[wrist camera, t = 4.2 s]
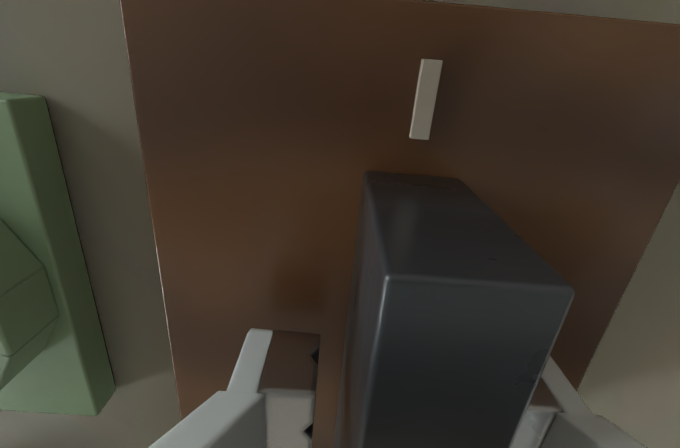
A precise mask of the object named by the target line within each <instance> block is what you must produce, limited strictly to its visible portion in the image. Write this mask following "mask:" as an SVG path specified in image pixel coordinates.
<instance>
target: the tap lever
mask: <svg viewBox="0 0 680 448" xmlns="http://www.w3.org/2000/svg"><path fill="white" fill-rule="evenodd" d="M574 297H575V290H574V288H573V286H572V285H571V284H570V283H568V282H567V281H566V280H565V279H564V278H563V277H562V276H561V275H560V274H559V273H558V272H557V271H556V270H555V269H554V268H553V267H552V266H551V265H550V264H549V263H548V262H546V261H545V260H544V259H543V258H542V257H541V256H540V255H539V254H538V253H537V252H536V251H535V250H534V249H533V248H532V247H531V246H530V245H529V244H528V243H527V242H526V241H524V240H523V239H522V238H521V237H520V236H519V235H518V234H517V233H516V232H515V231H514V230H513V229H512V228H511V227H510V226H509V225H508V224H507V223H506V222H505V221H504V220H503V219H501V218H500V217H499V216H498V215H497V214H496V213H495V212H494V211H493V210H492V209H491V208H490V207H489V206H488V205H487V204H486V203H485V202H484V201H483V200H482V199H481V198H479V197H478V196H477V195H476V194H475V193H474V192H473V191H472V190H471V189H470V188H469V187H468V186H467V185H466V184H465V183H464V182H463V181H462V180H460V179H459V178H450V177H438V176H425V175H413V174H401V173H389V172H376V171H367V172H365V173H364V175H363V182H362V191H361V200H360V209H359V218H358V227H357V236H356V245H355V254H354V263H353V272H352V281H351V290H350V299H349V308H348V317H347V326H346V335H345V344H344V353H343V362H342V371H341V380H340V389H339V398H338V407H337V416H336V425H335V434H334V448H511V446H512V444H513V442H514V439H515V437H516V435H517V432H518V430H519V427H520V425H521V423H522V420H523V418H524V416H525V413H526V411H527V408H528V406H529V404H530V401H531V399H532V397H533V394H534V392H535V389H536V387H537V385H538V382H539V380H540V378H541V375H542V373H543V370H544V368H545V366H546V363H547V361H548V359H549V356H550V354H551V351H552V349H553V347H554V344H555V342H556V340H557V337H558V335H559V333H560V330H561V328H562V325H563V323H564V321H565V318H566V316H567V314H568V311H569V309H570V306H571V304H572V302H573V299H574Z"/></svg>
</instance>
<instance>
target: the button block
mask: <svg viewBox="0 0 680 448" xmlns="http://www.w3.org/2000/svg"><path fill="white" fill-rule="evenodd" d="M115 390H116V388H115V384H114V380H113V376H112V371H111V367H110V363H109V359H108V355H107V351H106V347H105V343H104V338H103V334H102V330H101V326H100V322H99V318H98V314H97V310H96V306H95V301H94V297H93V293H92V289H91V285H90V281H89V277H88V273H87V269H86V264H85V260H84V256H83V252H82V248H81V244H80V240H79V236H78V232H77V227H76V223H75V219H74V215H73V211H72V207H71V203H70V199H69V194H68V190H67V186H66V182H65V178H64V174H63V170H62V166H61V162H60V157H59V153H58V149H57V145H56V141H55V137H54V133H53V129H52V125H51V120H50V116H49V112H48V108H47V104H46V100H45V98H44V97H42V96H37V95H26V94H14V93H2V92H0V410H7V411H22V412H38V413H54V414H70V415H85V416H98V415H99V413H100V412H101V411H102V409H103V408H104V406H105V405H106V403H107V402H108V401H109V399H110V398H111V396H112V395H113V394H114V392H115Z"/></svg>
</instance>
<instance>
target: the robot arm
mask: <svg viewBox="0 0 680 448" xmlns="http://www.w3.org/2000/svg"><path fill="white" fill-rule="evenodd" d="M319 348H320V334H314V333H303V332H292V331H282V330H275V331H274V330H266V329H255V328H251V329H250V330H249V332H248V333H247V335H246V338H245V341H244V344H243V346H242V349H241V352H240V355H239V357H238V360H237V363H236V366H235V368H234V371H233V374H232V377H231V379H230V382H229V385H228V388H227V390H226V391H218V392H216V393H215V394H214V395H213V396H211V397H210V398H209V399H208V400H206V401H205V402H204V403H203V404H201V405H200V406H199V407H198V408H197V409H195V410H194V411H193V412H192V413H190V414H189V415H188V416H187V417H185V418H184V419H183V420H182V421H180V422H179V423H178V424H177V425H176V426H174V427H173V428H172V429H171V430H169V431H168V432H167V433H166V434H164V435H163V436H162V437H161V438H159V439H158V440H157V441H156V442H155V443H153V444H152V445H151V446H150V447H148V448H311V446H312V435H313V424H314V412H315V400H316V389H317V375H318V362H319ZM511 448H647V447H646V446H644V445H643V444H642V443H640V442H639V441H637V440H636V439H634V438H633V437H631V436H630V435H629V434H627V433H626V432H624V431H623V430H621V429H620V428H618V427H617V426H616V425H614V424H613V423H611V422H610V421H608V420H607V419H606V418H604V417H603V416H599V415H593V414H592V412H591V411H590V410H589V408H588V407H587V405H586V404H585V403H584V401H583V400H582V399H581V397H580V396H579V394H578V393H577V392H576V390H575V389H574V388H573V386H572V385H571V383H570V382H569V381H568V379H567V378H566V377H565V375H564V374H563V372H562V371H561V370H560V368H559V367H558V365H557V364H556V363H555V361H554V360H553V359H552V357H551V356H549V359H548V361H547V363H546V366H545V368H544V370H543V373H542V375H541V378H540V380H539V382H538V385H537V387H536V389H535V392H534V394H533V397H532V399H531V401H530V404H529V406H528V408H527V411H526V413H525V416H524V418H523V420H522V423H521V425H520V427H519V430H518V432H517V435H516V437H515V439H514V442H513V444H512V446H511Z"/></svg>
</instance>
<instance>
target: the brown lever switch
mask: <svg viewBox="0 0 680 448" xmlns="http://www.w3.org/2000/svg"><path fill="white" fill-rule="evenodd" d="M119 1H120V8H121V15H122V21H123V28H124V35H125V42H126V49H127V55H128V62H129V69H130V76H131V83H132V89H133V96H134V103H135V110H136V117H137V123H138V130H139V137H140V144H141V151H142V157H143V164H144V171H145V178H146V185H147V191H148V198H149V205H150V212H151V219H152V225H153V232H154V239H155V246H156V253H157V260H158V266H159V273H160V280H161V287H162V294H163V300H164V307H165V314H166V321H167V328H168V334H169V341H170V348H171V355H172V362H173V368H174V375H175V382H176V389H177V396H178V402H179V409H180V416H181V421H182V420H183V419H184V418H185V417H187V416H188V415H189V414H190V413H192V412H193V411H194V410H195V409H197V408H198V407H199V406H200V405H201V404H203V403H204V402H205V401H206V400H208V399H209V398H210V397H211V396H213V395H214V394H215V393H216V392H218V391H226V390H227V388H228V385H229V382H230V379H231V377H232V374H233V371H234V368H235V366H236V363H237V360H238V357H239V355H240V352H241V349H242V346H243V344H244V341H245V338H246V335H247V333H248V332H249V330H250V329H251V328H255V329H266V330H274V331H275V330H282V331H292V332H303V333H314V334H320V348H319V362H318V375H317V389H316V400H315V412H314V424H313V435H312V446H311V448H334V434H335V425H336V416H337V407H338V398H339V389H340V380H341V371H342V362H343V353H344V344H345V335H346V326H347V317H348V308H349V299H350V290H351V281H352V272H353V263H354V254H355V245H356V236H357V227H358V218H359V209H360V200H361V191H362V182H363V175H364V173H365V172H367V171H376V172H389V173H401V174H413V175H425V176H438V177H450V178H459V179H460V180H462V181H463V182H464V183H465V184H466V185H467V186H468V187H469V188H470V189H471V190H472V191H473V192H474V193H475V194H476V195H477V196H478V197H479V198H481V199H482V200H483V201H484V202H485V203H486V204H487V205H488V206H489V207H490V208H491V209H492V210H493V211H494V212H495V213H496V214H497V215H498V216H499V217H500V218H501V219H503V220H504V221H505V222H506V223H507V224H508V225H509V226H510V227H511V228H512V229H513V230H514V231H515V232H516V233H517V234H518V235H519V236H520V237H521V238H522V239H523V240H524V241H526V242H527V243H528V244H529V245H530V246H531V247H532V248H533V249H534V250H535V251H536V252H537V253H538V254H539V255H540V256H541V257H542V258H543V259H544V260H545V261H546V262H548V263H549V264H550V265H551V266H552V267H553V268H554V269H555V270H556V271H557V272H558V273H559V274H560V275H561V276H562V277H563V278H564V279H565V280H566V281H567V282H568V283H570V284H571V285H572V286H573V288H574V290H575V297H574V299H573V302H572V304H571V306H570V309H569V311H568V314H567V316H566V318H565V321H564V323H563V325H562V328H561V330H560V333H559V335H558V337H557V340H556V342H555V344H554V347H553V349H552V351H551V354H550V356H551V357H552V359H553V360H554V361H555V363H556V364H557V365H558V367H559V368H560V370H561V371H562V372H563V374H564V375H565V377H566V378H567V379H568V381H569V382H570V383H571V385H572V386H573V388H574V389H575V390H576V391H577V389H578V387H579V385H580V383H581V381H582V379H583V377H584V375H585V372H586V370H587V368H588V366H589V364H590V362H591V360H592V358H593V356H594V354H595V352H596V350H597V348H598V346H599V344H600V342H601V340H602V338H603V336H604V334H605V331H606V329H607V327H608V325H609V323H610V321H611V319H612V317H613V315H614V313H615V311H616V309H617V307H618V305H619V303H620V301H621V299H622V297H623V295H624V293H625V290H626V288H627V286H628V284H629V282H630V280H631V278H632V276H633V274H634V272H635V270H636V268H637V266H638V264H639V262H640V260H641V258H642V256H643V254H644V251H645V249H646V247H647V245H648V243H649V241H650V239H651V237H652V235H653V233H654V231H655V229H656V227H657V225H658V223H659V221H660V219H661V217H662V215H663V213H664V210H665V208H666V206H667V204H668V202H669V200H670V198H671V196H672V194H673V192H674V190H675V188H676V186H677V184H678V182H679V180H680V24H669V23H659V22H648V21H637V20H627V19H616V18H605V17H595V16H584V15H573V14H563V13H552V12H541V11H531V10H520V9H509V8H499V7H488V6H477V5H467V4H456V3H445V2H435V1H424V0H119Z"/></svg>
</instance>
